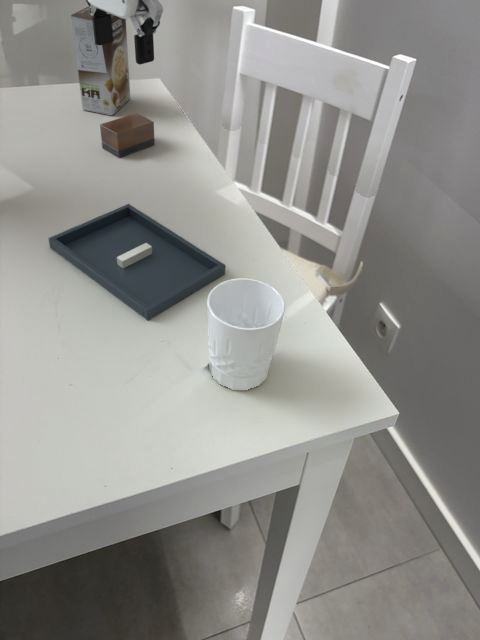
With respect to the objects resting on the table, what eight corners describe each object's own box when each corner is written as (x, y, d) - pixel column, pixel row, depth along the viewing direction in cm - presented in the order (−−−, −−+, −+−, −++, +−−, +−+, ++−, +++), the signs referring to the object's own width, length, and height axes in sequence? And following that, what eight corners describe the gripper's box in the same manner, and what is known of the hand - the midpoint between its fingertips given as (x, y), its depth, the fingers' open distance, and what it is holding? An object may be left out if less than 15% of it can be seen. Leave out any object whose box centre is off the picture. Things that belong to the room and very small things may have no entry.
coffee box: (113, 116, 104) (105, 21, 92) (81, 110, 104) (69, 15, 93) (131, 99, 110) (125, 8, 99) (101, 93, 111) (92, 2, 99)
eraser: (102, 148, 95) (99, 124, 92) (138, 135, 100) (136, 112, 97) (119, 158, 93) (117, 134, 90) (154, 145, 98) (154, 121, 95)
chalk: (117, 264, 72) (116, 257, 71) (146, 249, 75) (146, 242, 74) (123, 268, 71) (122, 261, 71) (152, 253, 74) (152, 246, 73)
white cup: (266, 402, 59) (278, 336, 52) (196, 387, 60) (198, 320, 53) (278, 351, 65) (290, 286, 58) (213, 338, 65) (217, 271, 58)
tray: (50, 252, 73) (47, 238, 72) (129, 217, 81) (128, 203, 80) (148, 325, 66) (147, 311, 64) (224, 278, 73) (225, 264, 72)
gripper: (50, -96, 75) (70, 41, 87) (134, -69, 68) (142, 75, 81) (95, -98, 79) (108, 32, 92) (178, -73, 73) (180, 65, 85)
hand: (124, 52), depth 86 cm, fingers open, 9 cm apart
